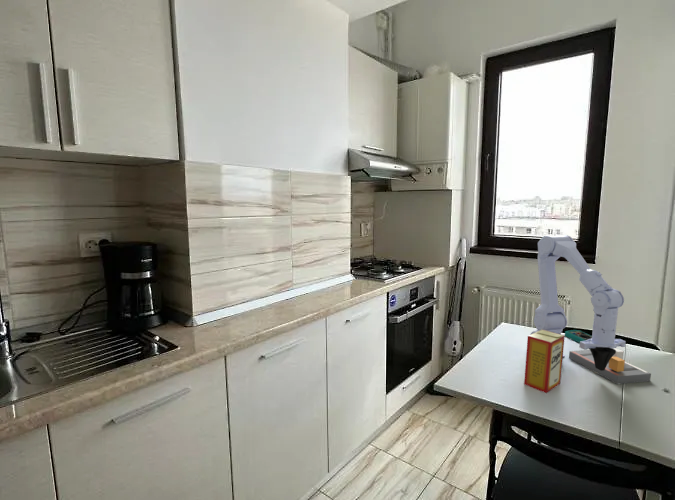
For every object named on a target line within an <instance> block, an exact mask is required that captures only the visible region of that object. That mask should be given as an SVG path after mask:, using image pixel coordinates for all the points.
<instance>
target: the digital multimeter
mask: <svg viewBox="0 0 675 500" xmlns="http://www.w3.org/2000/svg"><path fill="white" fill-rule="evenodd" d="M564 335H565V338H567V339H570V340H573V342H576V343H579V344H580V341H585V340H588V339H591V338H592V335H590V334H588V333H586V332H584V331H582V330H577V329H573V330H572V329H571V330H566V331H564Z"/></svg>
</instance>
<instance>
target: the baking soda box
mask: <svg viewBox="0 0 675 500" xmlns="http://www.w3.org/2000/svg"><path fill="white" fill-rule="evenodd" d="M530 334H531V333H530ZM530 334H529V335H528V336H527V342H526V354H525V355H526V356H525V369H524V381H523V382H524V383H523V384H524V385H525V386H527V387H530V388H533V389H535V390H538V391H540V392H543V393H546V394H547V393H549V392H551V391H552V390H553V389H555V388H556V387H557V386H560V384H561V380H562V372H563V371H562V369H563V358H564V357H563V355H564V347H565V338H566V336H565V334H562V333H561V334H557V333H554V332H550V331H546V330H543V329H542V330H540V331H538V332H535V333H533V334H531V335H530Z"/></svg>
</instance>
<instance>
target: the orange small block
mask: <svg viewBox="0 0 675 500" xmlns="http://www.w3.org/2000/svg"><path fill="white" fill-rule="evenodd" d="M625 362H626V360H625V359H624V358H623V359H621V358H618V357H616V356H615V357H611V359H610V360H609V368H611V369H613V370H615V371H617V372H620V371H624V363H625Z"/></svg>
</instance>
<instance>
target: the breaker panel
mask: <svg viewBox="0 0 675 500" xmlns="http://www.w3.org/2000/svg"><path fill="white" fill-rule="evenodd" d="M612 349H615V350H616V353H615V354H614V355H613V356H612V357H615V356H616V357H618V358H621V359H623V360H624V351H623V350H621V349H619V348H617V347H616V348H612ZM568 354H569V355H568V358H569V359H570V360H572V361H574V362H576V363H578V364H580V365H581V366H583V367H584V368H586V369H589V370H590V371H593V372H594V373H596V374H597V375H600V376H601V377H604V378H606V379H607V380H609V381H611V382H613V383H614V384H617V385H619V384H620V385H621V384H631V383H632V384H633V383H644V382H651V377H652V373H651V372H648V371H646V370H644V369H642V368H640V367H638V366H636V365H633V364H631V363H629V362H627V361H625V363H624V371H620V372H617V371H615V370H613V369H611V368H609V362H608V364H607V366H606V368H605V370H602V371H601V370H599V369H597V368H595V362H594V358H593V355H592V353H591V351H590V349H587V350H584V349H583V350H569V353H568Z"/></svg>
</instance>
